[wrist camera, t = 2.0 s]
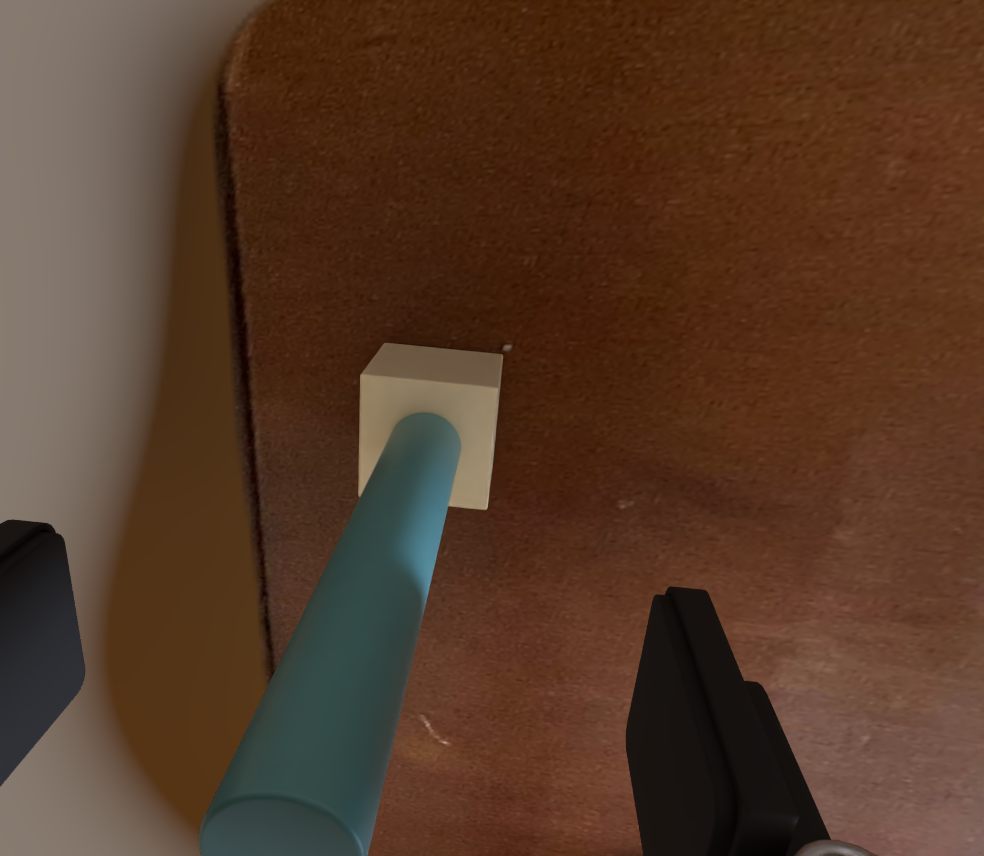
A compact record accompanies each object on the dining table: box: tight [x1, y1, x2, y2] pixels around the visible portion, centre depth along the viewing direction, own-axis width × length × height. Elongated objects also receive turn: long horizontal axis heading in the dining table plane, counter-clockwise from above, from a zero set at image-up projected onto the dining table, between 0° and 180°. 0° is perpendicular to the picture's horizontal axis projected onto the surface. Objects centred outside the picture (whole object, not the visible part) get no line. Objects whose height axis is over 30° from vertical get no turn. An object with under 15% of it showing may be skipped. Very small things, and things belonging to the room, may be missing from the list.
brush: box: [199, 343, 503, 856], centre depth 14 cm, size 3×3×14 cm
